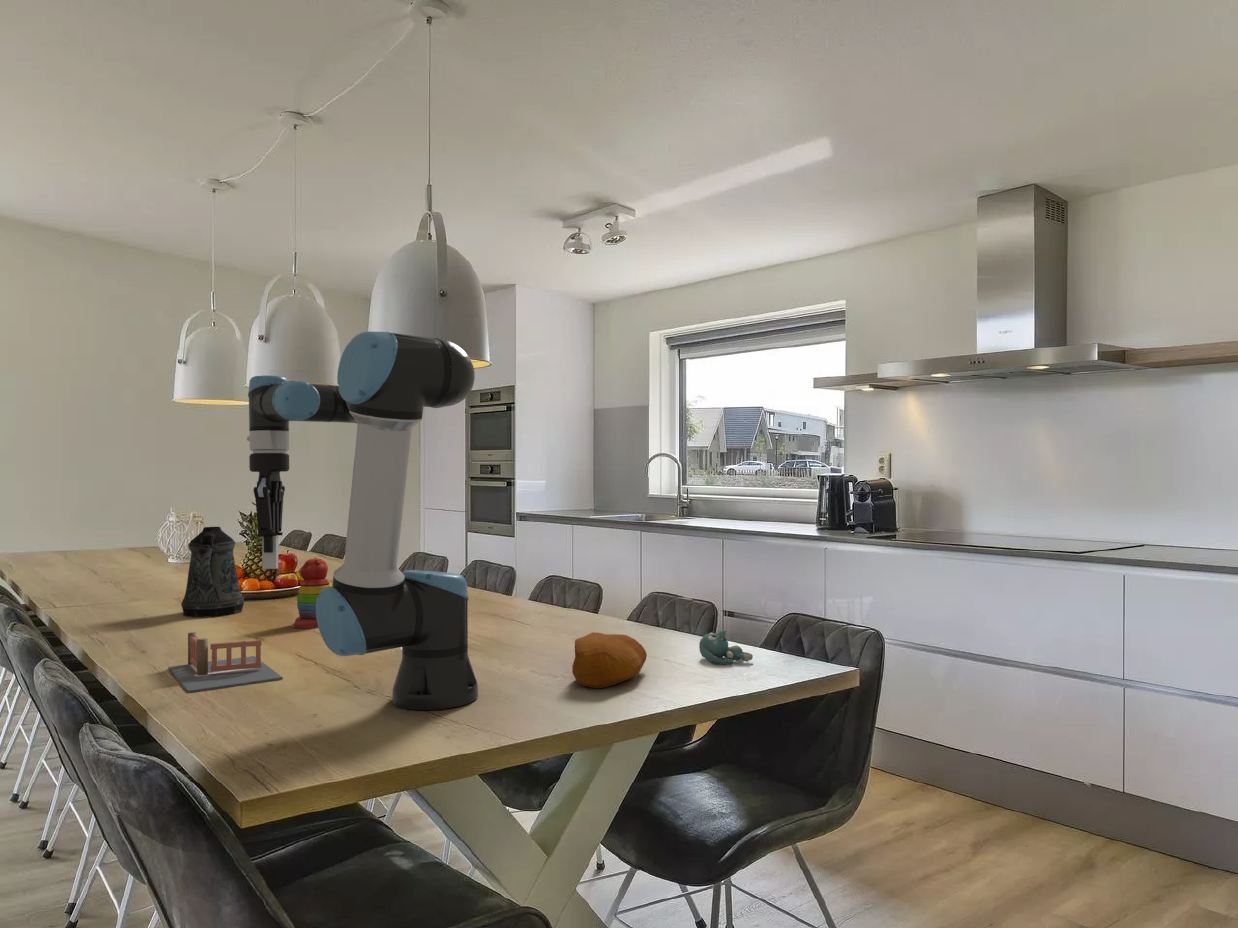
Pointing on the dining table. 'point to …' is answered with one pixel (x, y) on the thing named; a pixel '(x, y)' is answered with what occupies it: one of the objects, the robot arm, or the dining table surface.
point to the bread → (606, 659)
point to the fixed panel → (198, 653)
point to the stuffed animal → (721, 649)
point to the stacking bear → (310, 592)
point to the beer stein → (212, 576)
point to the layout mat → (222, 676)
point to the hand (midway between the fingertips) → (270, 568)
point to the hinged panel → (229, 655)
